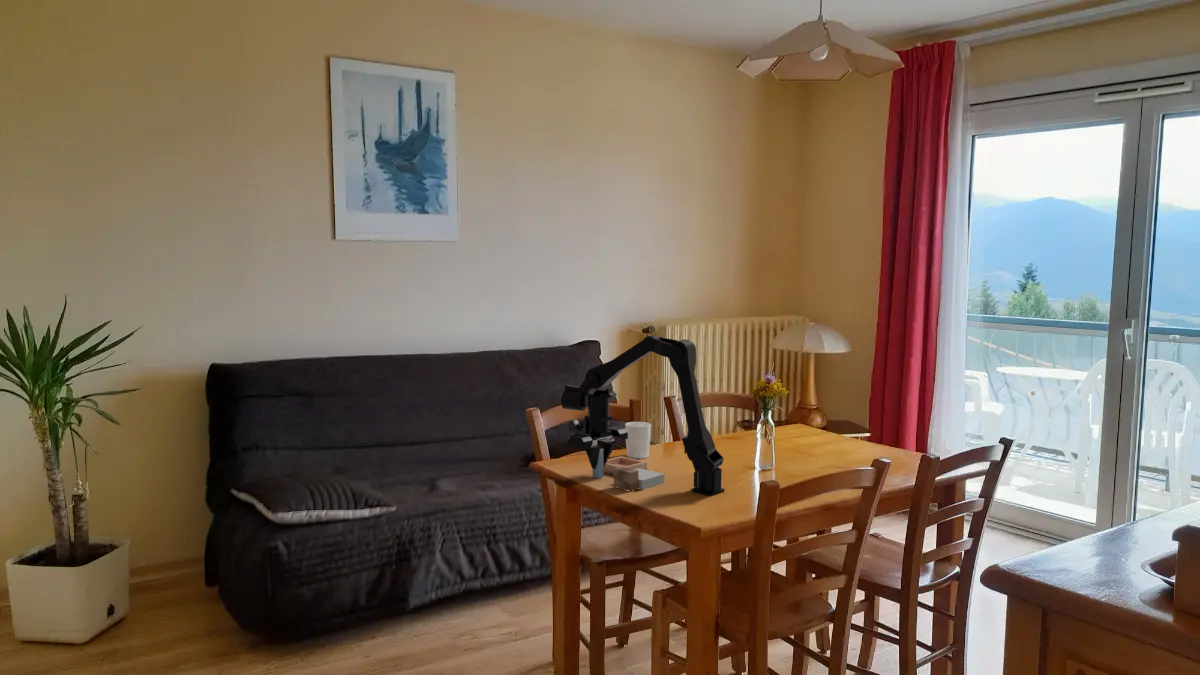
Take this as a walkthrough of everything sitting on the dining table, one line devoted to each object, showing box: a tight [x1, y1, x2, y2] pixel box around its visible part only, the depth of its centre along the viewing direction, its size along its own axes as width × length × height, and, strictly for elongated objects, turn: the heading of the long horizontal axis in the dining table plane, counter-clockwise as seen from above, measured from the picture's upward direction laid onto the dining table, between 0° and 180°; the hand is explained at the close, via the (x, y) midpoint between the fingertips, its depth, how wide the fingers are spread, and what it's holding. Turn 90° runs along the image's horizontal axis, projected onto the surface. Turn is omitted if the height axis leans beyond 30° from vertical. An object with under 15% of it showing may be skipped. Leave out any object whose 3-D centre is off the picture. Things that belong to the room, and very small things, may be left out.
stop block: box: [613, 467, 639, 492], centre depth 215 cm, size 6×3×5 cm, turn 46°
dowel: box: [592, 447, 604, 479], centre depth 225 cm, size 3×3×8 cm
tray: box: [603, 455, 648, 475], centre depth 233 cm, size 10×10×2 cm
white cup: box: [624, 421, 652, 460], centre depth 250 cm, size 8×8×10 cm
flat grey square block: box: [634, 468, 665, 491], centre depth 219 cm, size 9×9×3 cm
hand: (598, 467), depth 226 cm, fingers closed on dowel, 3 cm apart
